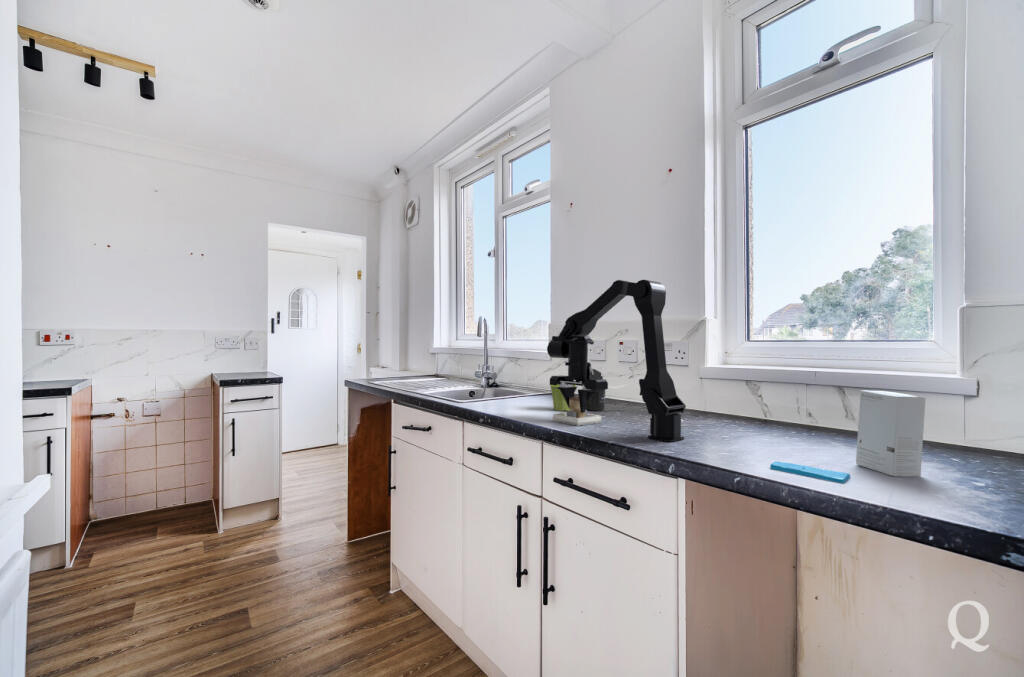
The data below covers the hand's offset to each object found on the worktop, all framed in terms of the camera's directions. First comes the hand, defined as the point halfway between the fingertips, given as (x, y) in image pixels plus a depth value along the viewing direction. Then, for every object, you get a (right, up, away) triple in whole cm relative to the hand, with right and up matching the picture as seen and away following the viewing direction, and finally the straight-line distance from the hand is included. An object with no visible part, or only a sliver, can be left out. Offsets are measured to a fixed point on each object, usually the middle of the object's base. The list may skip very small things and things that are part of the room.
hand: (577, 411), depth 133 cm
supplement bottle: (+10, -4, +25) cm, 27 cm away
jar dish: (0, -3, 0) cm, 3 cm away
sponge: (+36, -4, -50) cm, 61 cm away
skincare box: (+52, -4, -48) cm, 71 cm away
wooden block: (0, -2, 0) cm, 2 cm away
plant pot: (-2, -4, +23) cm, 23 cm away
